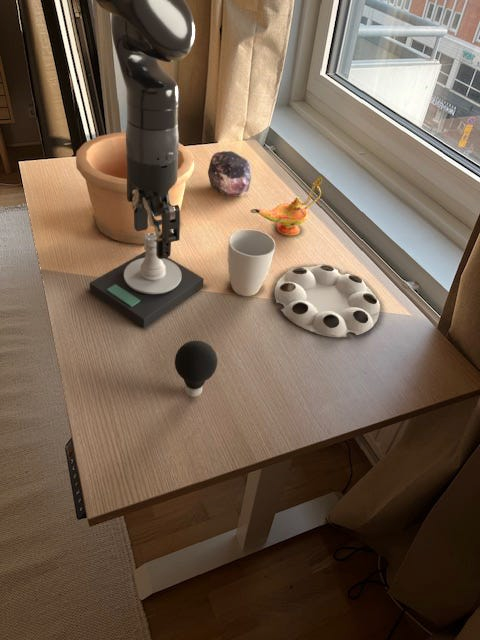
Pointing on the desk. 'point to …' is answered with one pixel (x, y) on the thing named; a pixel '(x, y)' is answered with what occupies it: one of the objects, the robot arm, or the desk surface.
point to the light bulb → (195, 365)
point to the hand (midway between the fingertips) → (151, 243)
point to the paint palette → (327, 300)
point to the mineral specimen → (229, 173)
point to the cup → (249, 260)
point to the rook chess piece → (152, 260)
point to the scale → (145, 289)
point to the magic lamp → (289, 213)
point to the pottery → (120, 185)
